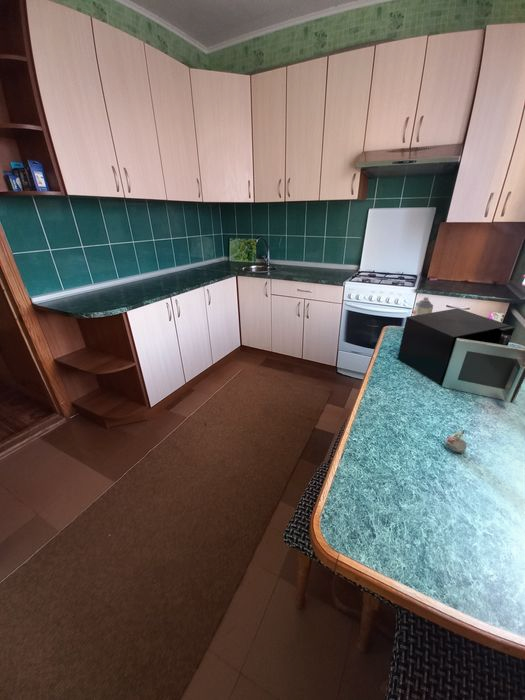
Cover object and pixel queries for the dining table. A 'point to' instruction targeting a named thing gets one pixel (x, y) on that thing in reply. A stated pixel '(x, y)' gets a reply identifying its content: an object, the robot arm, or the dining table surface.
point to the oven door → (486, 369)
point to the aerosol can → (423, 307)
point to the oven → (445, 338)
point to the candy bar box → (496, 316)
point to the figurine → (456, 443)
